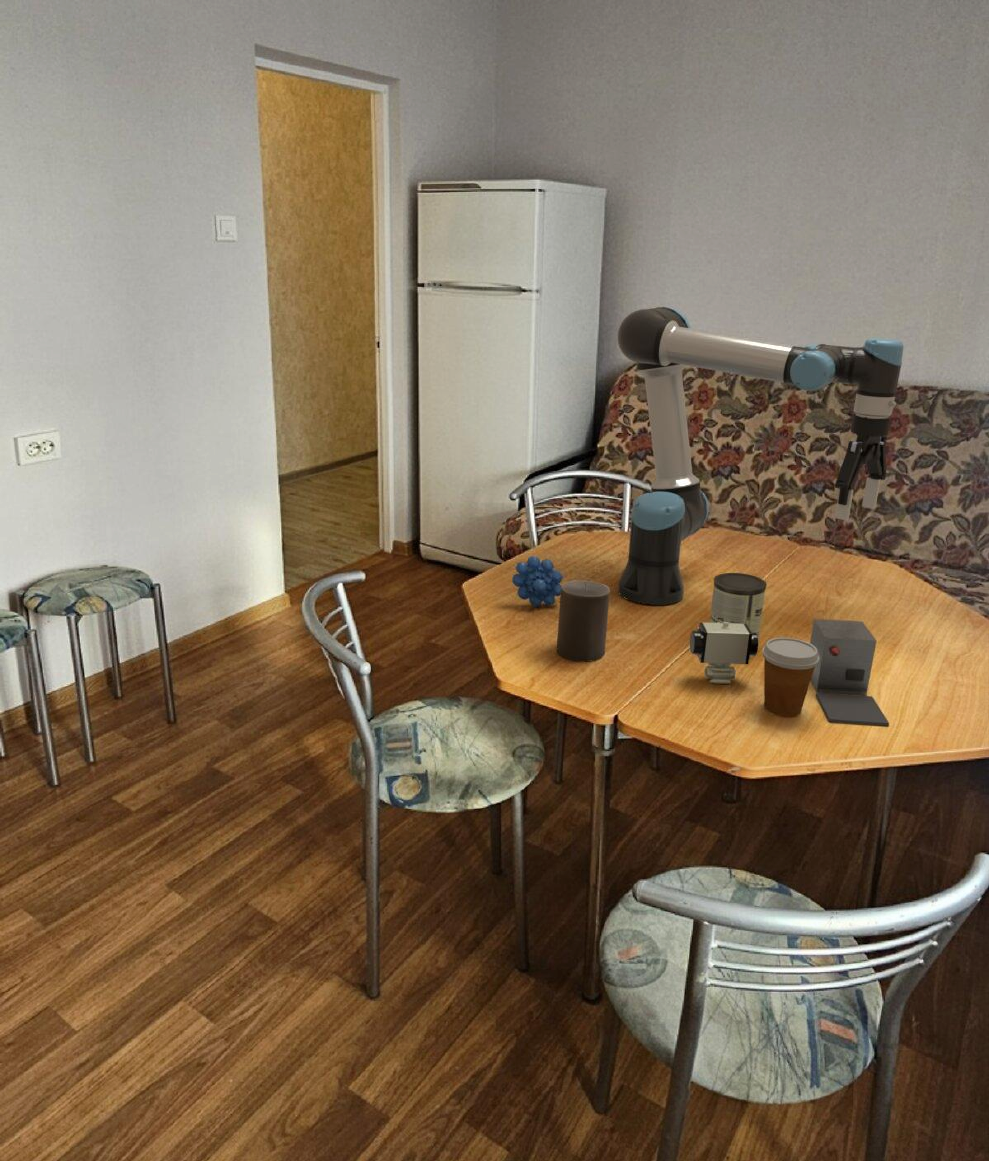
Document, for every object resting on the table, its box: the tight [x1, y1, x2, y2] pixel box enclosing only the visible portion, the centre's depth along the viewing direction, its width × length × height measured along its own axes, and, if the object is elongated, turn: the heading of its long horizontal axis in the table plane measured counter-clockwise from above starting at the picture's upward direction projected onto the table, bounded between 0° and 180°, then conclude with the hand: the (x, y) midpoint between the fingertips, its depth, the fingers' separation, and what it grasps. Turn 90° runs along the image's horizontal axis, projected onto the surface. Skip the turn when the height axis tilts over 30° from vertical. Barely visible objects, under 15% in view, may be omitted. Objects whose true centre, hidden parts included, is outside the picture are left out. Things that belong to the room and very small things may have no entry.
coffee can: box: [709, 572, 767, 642], centre depth 184 cm, size 10×10×14 cm
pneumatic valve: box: [689, 622, 759, 685], centre depth 169 cm, size 6×12×12 cm, turn 89°
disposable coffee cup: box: [762, 637, 820, 718], centre depth 159 cm, size 10×10×12 cm
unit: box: [809, 618, 877, 696], centre depth 169 cm, size 9×10×11 cm
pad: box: [815, 692, 890, 727], centre depth 161 cm, size 10×10×1 cm
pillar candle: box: [556, 579, 611, 662], centre depth 179 cm, size 10×10×15 cm
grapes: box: [511, 555, 564, 607], centre depth 201 cm, size 12×7×12 cm, turn 96°
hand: (855, 513), depth 196 cm, fingers open, 13 cm apart
